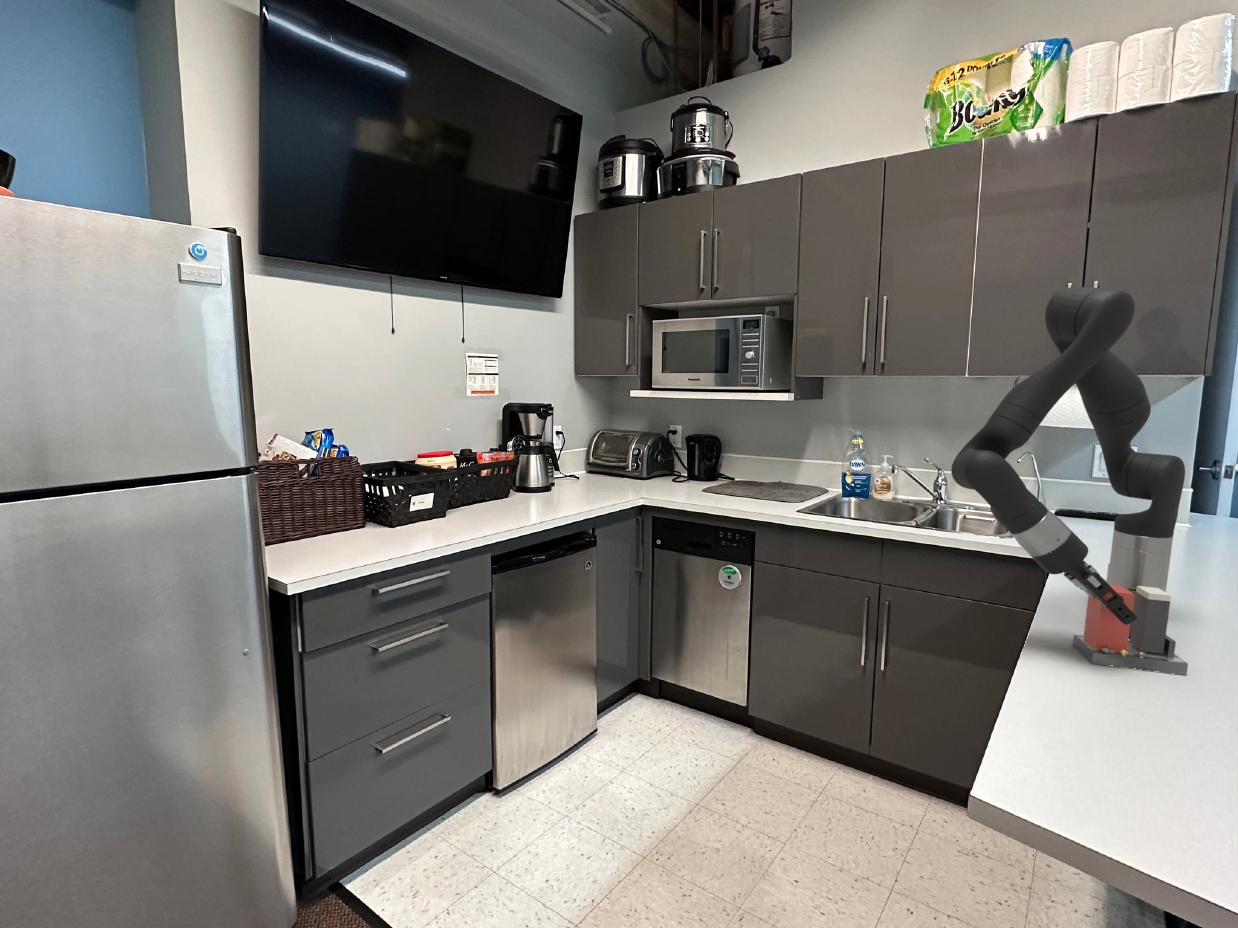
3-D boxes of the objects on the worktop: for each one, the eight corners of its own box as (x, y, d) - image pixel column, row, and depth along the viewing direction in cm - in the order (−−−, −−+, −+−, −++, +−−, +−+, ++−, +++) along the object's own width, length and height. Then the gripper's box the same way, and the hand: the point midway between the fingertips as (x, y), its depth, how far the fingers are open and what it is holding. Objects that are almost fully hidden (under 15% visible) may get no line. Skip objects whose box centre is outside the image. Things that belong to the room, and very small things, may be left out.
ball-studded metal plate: (1092, 663, 104) (1095, 635, 103) (1072, 645, 112) (1075, 618, 111) (1186, 675, 100) (1190, 645, 100) (1159, 655, 108) (1163, 627, 107)
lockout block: (1083, 638, 109) (1089, 583, 108) (1113, 641, 108) (1120, 585, 107) (1095, 648, 105) (1102, 591, 104) (1126, 651, 104) (1134, 593, 103)
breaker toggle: (1141, 651, 103) (1149, 593, 102) (1129, 641, 107) (1136, 585, 106) (1163, 653, 103) (1171, 595, 101) (1150, 644, 106) (1157, 587, 105)
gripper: (1085, 536, 99) (1162, 613, 98) (1051, 518, 113) (1119, 586, 111) (1043, 565, 102) (1118, 641, 100) (1015, 544, 115) (1081, 611, 113)
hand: (1118, 612), depth 106 cm, fingers open, 8 cm apart
